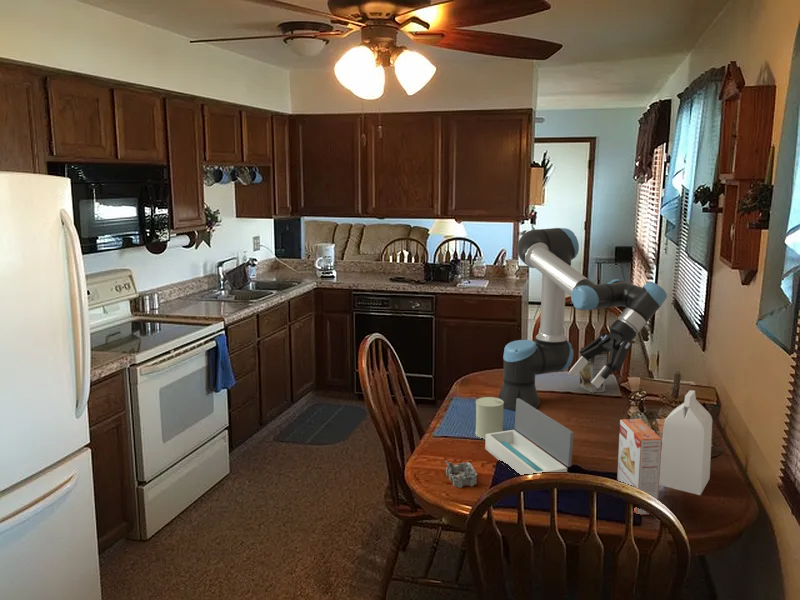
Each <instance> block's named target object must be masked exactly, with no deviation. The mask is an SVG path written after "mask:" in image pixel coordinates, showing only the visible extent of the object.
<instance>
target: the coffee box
mask: <svg viewBox="0 0 800 600" xmlns="http://www.w3.org/2000/svg"><path fill="white" fill-rule="evenodd" d="M585 347H586V346H585ZM585 347H581V350H582V349H583V348H585ZM581 350H580V351H581ZM607 363H608V351H606V352H604V351H603V352H601V353H600V354H598V355H596V356H594V357H592V358H590V359H589V362H588V363H587V364H586V365H585V367H584V368H583V369H582V370H581V371H580V373H579V387H581V388H582V389H583V390H585V391H587V390H588V391H587V392H589V391H590V392H589V393H591V392H592V393H591V394H594V393H593V392H597V393H604V391H605V392H606V384H607V383H606V380H607V379H606V380H605V381H604V382H603V383H602V384H601V386H600V387H599V388H596V387H595V386H594V385H593V384H592V383H591V382H592V380H593V379H594V378H595V377H596V375H597V374H598V373H599V372H600V371H601V369H602V368H603V367H604V366H607V365H606V364H607ZM607 367H608V366H607Z"/></svg>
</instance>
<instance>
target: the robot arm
mask: <svg viewBox="0 0 800 600" xmlns="http://www.w3.org/2000/svg"><path fill="white" fill-rule="evenodd" d="M579 246H580V244H579V240H578V238H577V236H576V235H575V232H573V230H571V229H569V228H566V227H565V228H564V227H554V228H541V229H539V228H537V229H536V228H535V229H531V230H528V231H526V232H525V233H524V234H522V235H521V236H520V238H519V240H518V242H517V246H516V250H517V255H518V257H519V259H520V261H521V262H523V263H524V264H525V265H526V266H527V267H529V268H530V269H531V268H532V269H535V270H537V271H539V272H540V273H541V298H540V301H541V303H540V320H539V321H540V323H539V324H540V325H539V327H540V328H539V332H538V333H537V334H536V336H535V341H534V340H532V339H518V340H513V341H510V342H509V343H507V344H506V345H505V347H504V351H503V357H502V358H503V374H502V375H503V377H502V378H503V379H502V380H503V381H502V386H501V388H500V392H499V394H498V397H497V398H499V399H501V400H503V401H504V406H503V409H507V410H512V411H516V399H517V398H520V399H521V400H523V401H524V402H526V403H528V404H529V405H531V406H532V407H534V408H536V409H537V408H539V406H540V397H539V394H538V392H537V387H536V376H537V375H545V374H550V373H551V374H552V373H559V372H562V371H565V370H567V369H568V368H570V367H571V365H572V363H573V361H574V360H573V359H574V349H573V347H572V346H573V345H572V344H571V342H570V341H569V340H568V337H567V336H566V335H565V333H564V329H565V309H566V308H565V307H566V293H567V294H568V295H569V296H570V299H571V304H573V307H574V308H575V309H576V310H579V311H591V310H593V311H594V310H599V309H606V308H607V309H608V308H609V309H610V308H616V307H623V308H624V309H623V311H622V312H621V313H620V314H619V316H618V317H617V319H616V320H614V321H613V323H612V324H611V325H610V327H609V331H610V332H609V334H608V335H607V334H606V333H605V332H601V333H600V335H599V336H598V337H596V338H595V339H593V340H592V341H591V342H590V343H588V344H587V345H586V346H585V348H584V347H582V348H583V349H582V350H579V354H580V358H579V359H577V361H576V362H575V364H573V366H572V367H571V368H570V370H569V371H568V373H570V375H571V376H572V377H574V378H577V376H578V375H580V371H581V370H582V369H583V368H584V367H585V365H586V364H587V363H588V362H589V359H590V358H592V357H594V356H596V355H598V354H600V353H601V352H603V351H604V352H609V355H608V358H607V364H606V365H607V366H604V367H603V368H602V369H601V371H600V372H599V373H598V374H597V375H596V377H595V378H594V379H593V380H592V382H591V383H592V384H593V385H594V386H595V387H596V388H599V387H600V386H601V384H602V383H603V382H604V381H605V380H607V379H608V378H609V377H610V376H611V374H612V373H614V372H616V371H617V372H620V371H621V369H622V367H623V365H624V363H625V360H626V357H627V355H628V352H629V351H630V349H632V344H631V343H632V341H633V340H634V339H635V338H636V337H637V334H638V333H640V332H641V330H642V329H643V328H644V326H646V324H647V323H648V322H649V320H651V318H652V317H653V316H654V315H655V314H656V312H658V310H659V309H660V308H661V307H662V305H663V303H664V302H666V300H667V298H668V295H667V292H666V290H665V289H664V288H663V287H661V286H660V285H659V284H657V283H656V282H653V281H648V282H646V283H645V284H644V285H643V286H638V285H637V284H636V285H635V284H634V283H631V282H627V281H625V280H624V279H618V278H615V279H611V280H610V281H609V282H607V283H601V284H596V283H594V282H593V281H591V280H589V278H587V277H586V276H584V275H583V274H582V273H580V272H579V271H578V270H577V269H575V268H573V267H572V260H574V259H575V258H576V257H577V256H578V254H579V251H580V249H579V248H580V247H579Z"/></svg>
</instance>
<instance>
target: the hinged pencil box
mask: <svg viewBox="0 0 800 600" xmlns="http://www.w3.org/2000/svg"><path fill="white" fill-rule="evenodd" d="M484 440H485V443H484V444H485V446H484V449H485V450H486V451H488V453H490V455H492V456H493V457H494V458H495V459H496V460H498V461H499V460H500V461H503V462H504V463H506V464H508V465H509V466H510V467H511V468H512V469H514V470H515V471H516V472H517V473H519V474H520V475H524V474H533V473H542V472H567V473H568V467H566V465H565V464H563V463H562V462H561V461H559V460H558V459H556V458H555V457H554V456H552V455H551V454H549V453H548V452H547V451H545V450H544V449H542V448H541V447H540V446H538V445H537V444H535V443H534V442H533V441H531V440H530V439H529V438H527V437H526V436H524V435H523V434H522V433H520V432H519V431H517V430H516V429H510V430H503V431H502V432H495V433H489V434H486V439H484ZM500 461H499V462H500Z"/></svg>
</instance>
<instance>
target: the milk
mask: <svg viewBox="0 0 800 600" xmlns="http://www.w3.org/2000/svg"><path fill="white" fill-rule="evenodd" d="M662 428H663V429H662V438H661V439H662V450H661V465H660V481H659V486H662V487H666V488H669V489H672V490H673V489H675V490H677V491H681V492H685V493H690V494H694V495H697V496H701V495H702V494H703V492H704V490H705V489H706V488H705V487H706V486H707V484H708V482H709V481H710V477H711V460H712V459H711V457H712V456H711V455H712V435H713V434H712V433H713V417H712V415H711V414H710V412H709V411H708V410H707V409H706V408H705V407H704V406H703V405H702V404H701V403H700V402H699V400H697V397H696V390H693V389H692V390H691V389H690V390H689V391H688V392H687V393H686V394H685V395H684V402H682V403H681V404H680V405H678V406H677V407H675V408H674V409H672V411H671V412H670V413H669V414H668V416H666V417H665V420H664V423H663V427H662Z"/></svg>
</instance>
